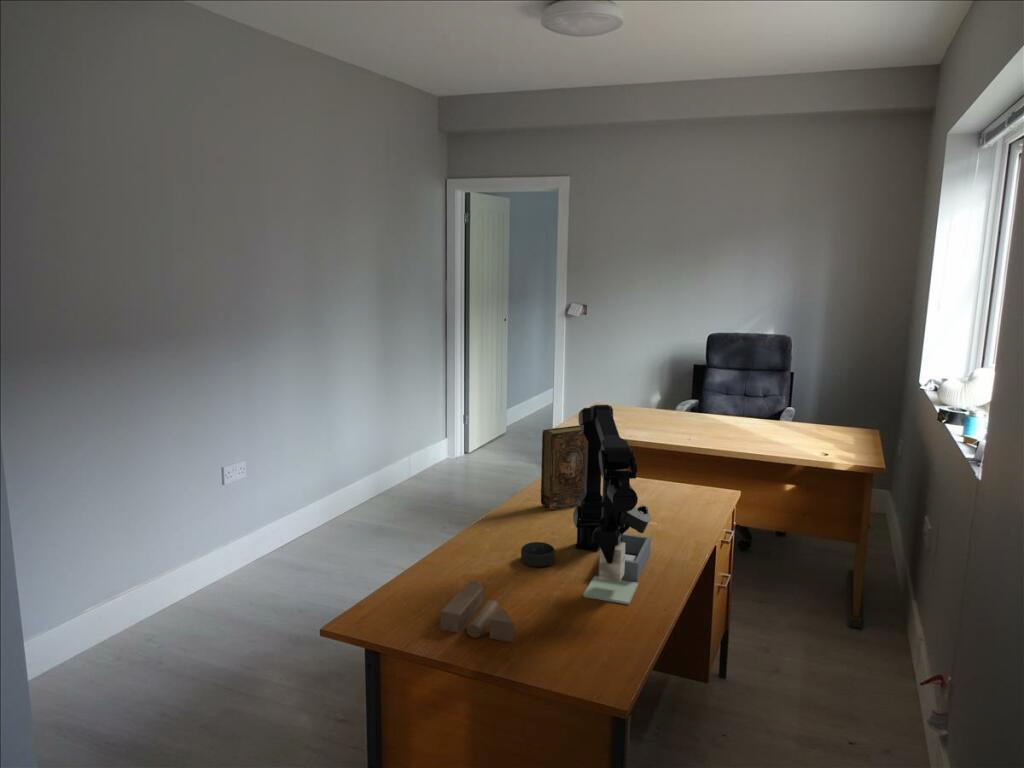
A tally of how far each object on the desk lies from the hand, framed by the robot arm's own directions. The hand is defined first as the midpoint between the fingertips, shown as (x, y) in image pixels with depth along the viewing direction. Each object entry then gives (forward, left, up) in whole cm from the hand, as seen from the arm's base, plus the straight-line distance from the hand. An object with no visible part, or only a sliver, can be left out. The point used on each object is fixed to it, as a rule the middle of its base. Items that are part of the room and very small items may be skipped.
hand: (612, 558), depth 183 cm
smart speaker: (-22, +10, -9) cm, 26 cm away
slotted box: (0, +16, -8) cm, 18 cm away
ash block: (0, 0, -4) cm, 5 cm away
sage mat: (0, 0, -8) cm, 8 cm away
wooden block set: (-22, -24, -9) cm, 34 cm away
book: (-27, +55, -8) cm, 62 cm away
